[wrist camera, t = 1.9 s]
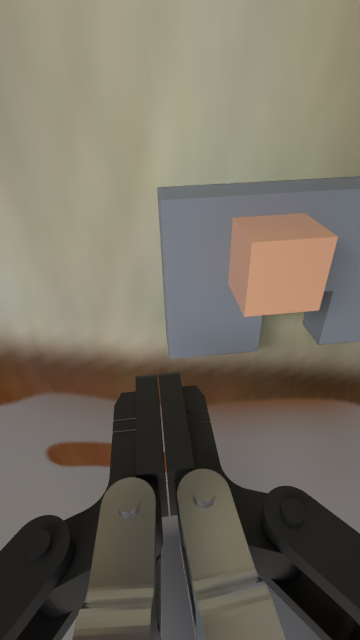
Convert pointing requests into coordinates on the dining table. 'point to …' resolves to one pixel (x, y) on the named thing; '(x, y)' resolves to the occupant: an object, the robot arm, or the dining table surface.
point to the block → (279, 263)
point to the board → (214, 258)
